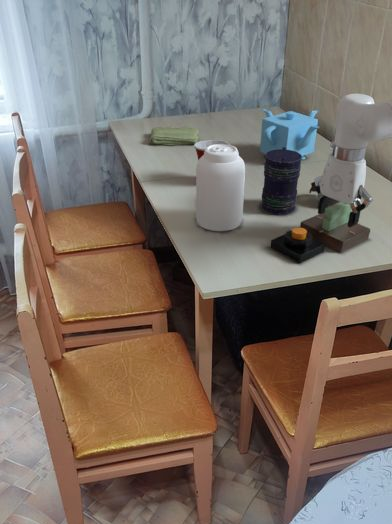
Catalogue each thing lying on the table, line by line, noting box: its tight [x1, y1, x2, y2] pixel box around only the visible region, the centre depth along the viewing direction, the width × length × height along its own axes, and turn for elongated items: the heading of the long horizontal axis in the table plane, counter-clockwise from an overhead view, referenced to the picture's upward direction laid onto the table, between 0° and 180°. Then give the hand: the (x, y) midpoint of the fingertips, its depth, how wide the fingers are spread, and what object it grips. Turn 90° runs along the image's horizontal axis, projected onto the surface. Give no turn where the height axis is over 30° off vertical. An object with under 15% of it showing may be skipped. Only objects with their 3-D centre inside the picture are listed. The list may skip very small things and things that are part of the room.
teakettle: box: [259, 108, 321, 160], centre depth 181 cm, size 19×19×15 cm
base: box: [299, 212, 371, 253], centre depth 141 cm, size 14×12×3 cm
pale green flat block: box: [322, 202, 352, 231], centre depth 138 cm, size 8×2×6 cm, turn 130°
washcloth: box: [149, 126, 200, 146], centre depth 198 cm, size 13×18×3 cm
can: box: [195, 144, 246, 232], centre depth 142 cm, size 12×12×20 cm
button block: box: [269, 229, 326, 264], centre depth 135 cm, size 10×9×4 cm
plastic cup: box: [193, 139, 231, 162], centre depth 165 cm, size 11×11×12 cm
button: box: [291, 226, 307, 240], centre depth 134 cm, size 4×4×2 cm
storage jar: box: [260, 147, 302, 216], centre depth 149 cm, size 10×10×18 cm
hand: (337, 218), depth 139 cm, fingers open, 9 cm apart
